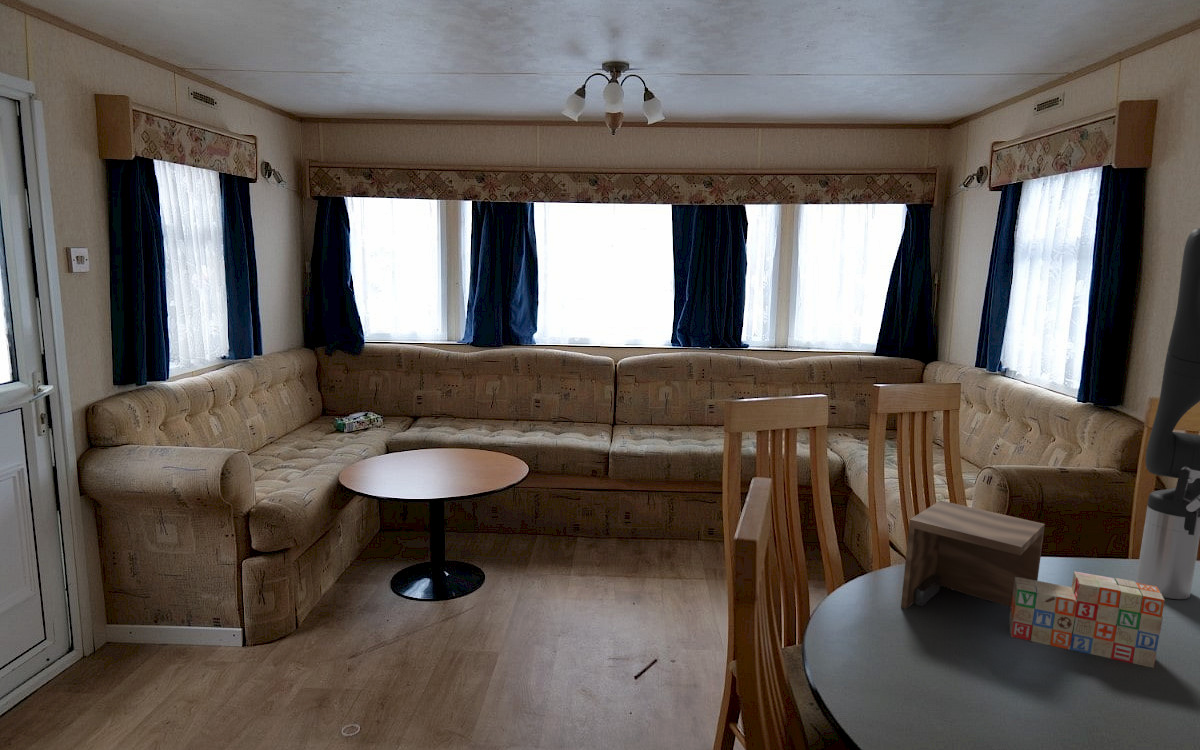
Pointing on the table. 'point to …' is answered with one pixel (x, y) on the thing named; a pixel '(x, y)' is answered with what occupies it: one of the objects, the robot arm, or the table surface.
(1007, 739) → the table surface
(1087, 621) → the stack of blocks
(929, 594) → the registration seat
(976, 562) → the overhang shelf
